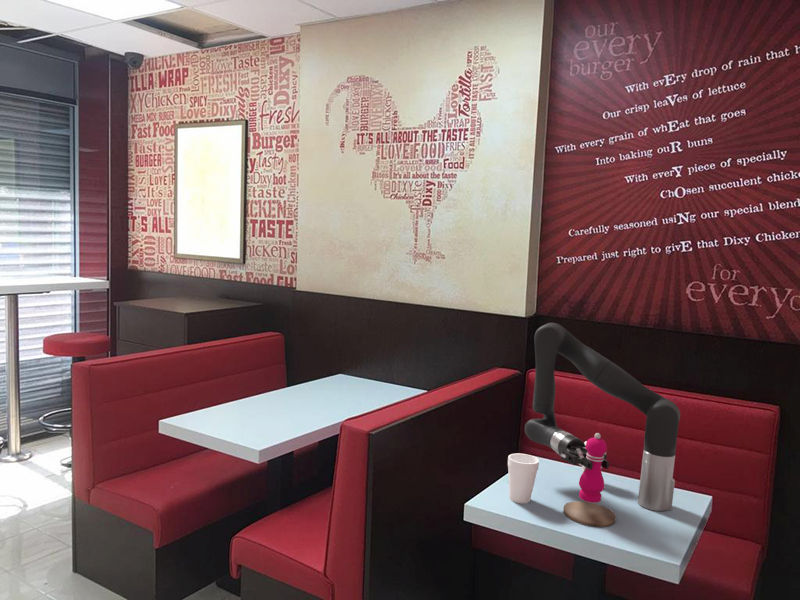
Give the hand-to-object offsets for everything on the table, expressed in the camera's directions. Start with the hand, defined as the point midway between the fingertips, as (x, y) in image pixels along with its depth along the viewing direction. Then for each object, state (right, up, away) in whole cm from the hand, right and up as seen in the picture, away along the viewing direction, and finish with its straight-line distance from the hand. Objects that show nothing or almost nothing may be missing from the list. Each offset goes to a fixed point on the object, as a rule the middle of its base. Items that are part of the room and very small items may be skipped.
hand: (599, 465), depth 196 cm
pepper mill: (-2, -11, +4) cm, 11 cm away
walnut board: (-2, -16, +4) cm, 16 cm away
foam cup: (-21, -14, +13) cm, 28 cm away
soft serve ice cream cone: (+6, -14, +33) cm, 36 cm away
